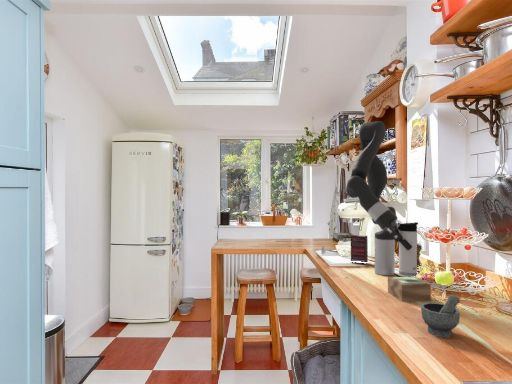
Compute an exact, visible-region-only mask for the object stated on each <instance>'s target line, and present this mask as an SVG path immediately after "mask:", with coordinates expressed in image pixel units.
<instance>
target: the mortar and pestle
mask: <svg viewBox="0 0 512 384" xmlns="http://www.w3.org/2000/svg"><path fill="white" fill-rule="evenodd" d="M459 303H461V301H460V298H459V297H458V295H455V294H449V295H448V296H447V299H446V302H445V303H444V304H443V303H440V302H426V303H421V304H420V310H421V317H422V320H423V321H424V323H425V325H427V333H429V334H431V335H432V336H435V337H440V338H450V337H453V331H452V330H453V329H455V328H457V326H458V325H459V323H460V318H461V316H460V315H461V313H460V310H459V308H457V306H458V304H459Z"/></svg>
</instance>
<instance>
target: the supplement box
mask: <svg viewBox="0 0 512 384" xmlns="http://www.w3.org/2000/svg"><path fill="white" fill-rule="evenodd" d="M368 242H369V241H368V235H363V234H362V235H361V234H359V235H358V234H352V235H350V262H351V261H361V262H369V261H368V259H369V257H368V256H369V255H368V253H369V252H368V250H369V249H368V247H369V246H368Z"/></svg>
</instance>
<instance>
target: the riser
mask: <svg viewBox="0 0 512 384" xmlns="http://www.w3.org/2000/svg"><path fill="white" fill-rule="evenodd" d="M431 286H432V285H431V284H430V283H428V282H427V281H425V280H422V279H419V278H417V277H416V276H403V277H402V276H401V277H400V276H398V277H397V276H395V277H391V276H390V277H389V276H388V277H387V293H388V294H389V295H392V296H393V297H394V298H396V299H397V300H399V301H400V302H428V301H429V302H432V301H431V300H432V294H431V293H432V290H431V288H432V287H431Z"/></svg>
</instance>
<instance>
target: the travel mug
mask: <svg viewBox="0 0 512 384" xmlns="http://www.w3.org/2000/svg"><path fill="white" fill-rule="evenodd" d="M399 225H400V226H399V228H400V231H401V232H402V235H403V237H404V238H405V239H406V240H407V241H408V242H409V243H410V244H411V246H412V248H411V249H410V250H407V249H406V248H405V247H404V246H403V245H402V244H401V243H399V242H398V273H399V275H402V276H404V277H416V276H417V273H418V271H417V270H418V267H417V266H418V225H419V222H406V223H400V224H399ZM405 239H404V240H405Z"/></svg>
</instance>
